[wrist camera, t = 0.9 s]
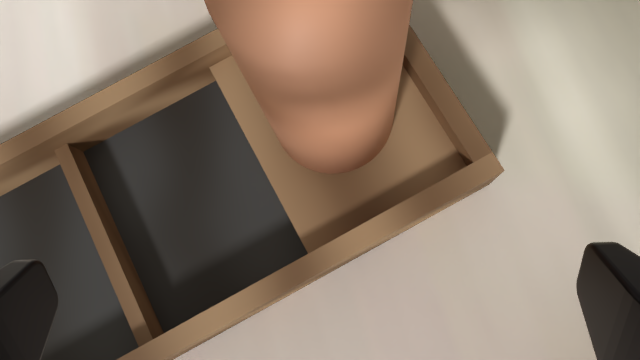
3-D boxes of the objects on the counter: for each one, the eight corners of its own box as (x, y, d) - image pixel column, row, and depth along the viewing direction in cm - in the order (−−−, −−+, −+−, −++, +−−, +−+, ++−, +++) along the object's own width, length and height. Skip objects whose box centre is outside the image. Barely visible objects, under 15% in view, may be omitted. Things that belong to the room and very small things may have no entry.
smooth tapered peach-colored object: (417, 130, 21) (462, -14, 11) (316, 197, 21) (274, 109, 11) (349, 39, 22) (337, -164, 12) (252, 102, 22) (162, -54, 12)
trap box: (362, -14, 24) (361, -49, 22) (489, 184, 22) (504, 170, 19) (-228, 302, 23) (-298, 303, 21) (-164, 545, 21) (-233, 578, 18)
